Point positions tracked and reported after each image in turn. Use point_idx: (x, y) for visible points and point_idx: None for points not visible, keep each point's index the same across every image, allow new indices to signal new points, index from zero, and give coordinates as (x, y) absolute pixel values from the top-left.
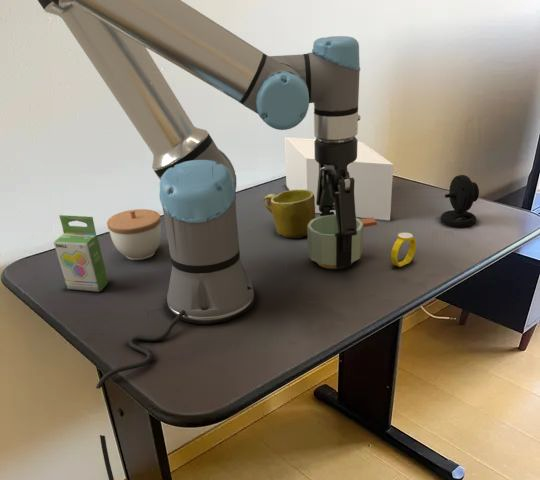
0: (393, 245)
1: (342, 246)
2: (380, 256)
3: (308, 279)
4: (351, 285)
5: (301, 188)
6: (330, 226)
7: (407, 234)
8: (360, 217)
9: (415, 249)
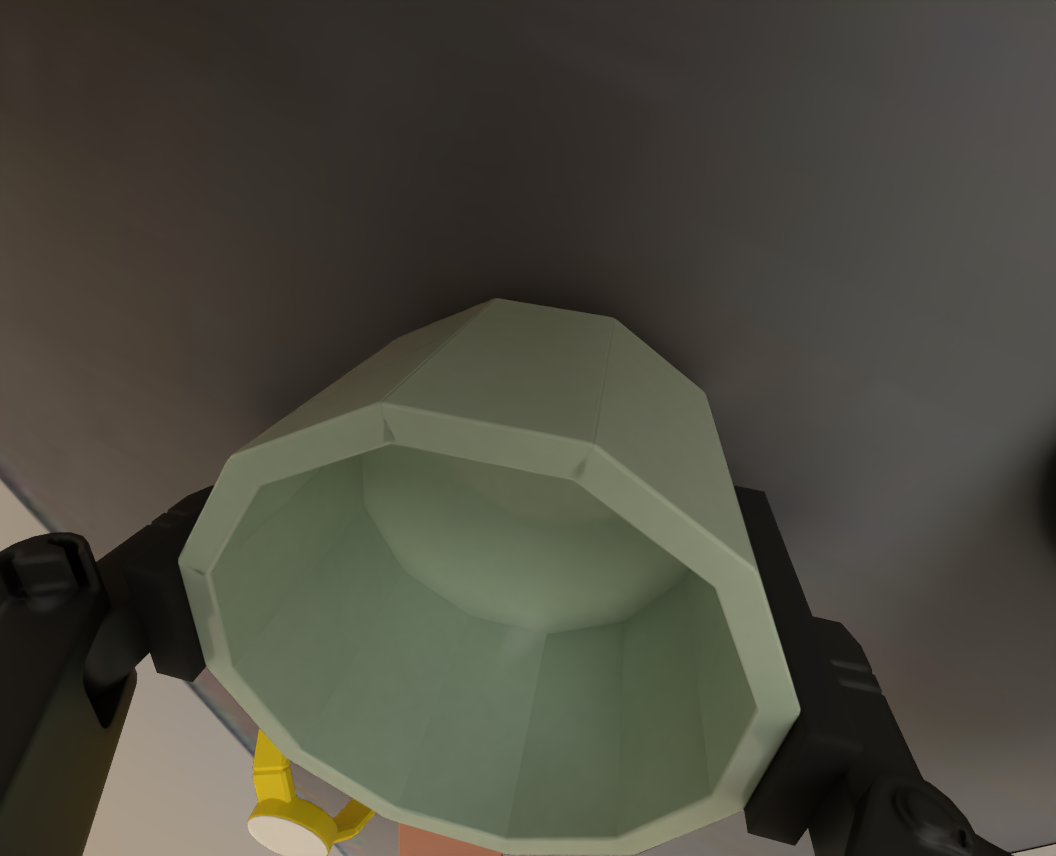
0: None
1: (173, 520)
2: None
3: (334, 178)
4: (210, 393)
5: None
6: (710, 660)
7: (295, 849)
8: (1027, 850)
9: None
